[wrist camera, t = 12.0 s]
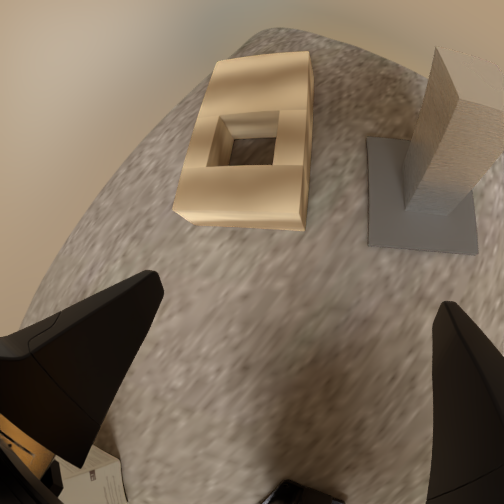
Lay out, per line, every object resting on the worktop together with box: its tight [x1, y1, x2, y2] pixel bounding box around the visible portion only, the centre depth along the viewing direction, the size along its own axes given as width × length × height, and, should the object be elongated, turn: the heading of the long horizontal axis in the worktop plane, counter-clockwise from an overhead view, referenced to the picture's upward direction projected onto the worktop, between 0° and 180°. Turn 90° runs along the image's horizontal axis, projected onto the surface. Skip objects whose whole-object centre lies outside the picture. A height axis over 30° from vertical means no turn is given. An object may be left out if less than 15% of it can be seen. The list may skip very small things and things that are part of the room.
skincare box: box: [55, 445, 127, 504], centre depth 15 cm, size 8×6×15 cm
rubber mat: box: [366, 136, 478, 255], centre depth 20 cm, size 10×10×1 cm
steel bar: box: [402, 46, 504, 216], centre depth 13 cm, size 4×4×13 cm
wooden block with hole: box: [172, 51, 314, 231], centre depth 24 cm, size 18×10×4 cm, turn 173°
